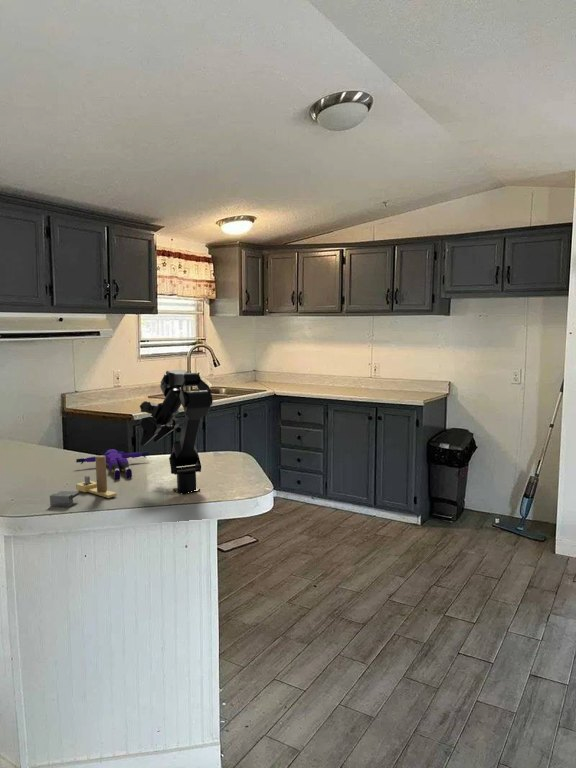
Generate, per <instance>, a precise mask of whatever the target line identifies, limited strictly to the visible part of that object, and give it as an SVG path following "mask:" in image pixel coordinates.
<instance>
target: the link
mask: <svg viewBox="0 0 576 768" xmlns="http://www.w3.org/2000/svg"><path fill="white" fill-rule="evenodd" d="M94 457H95V458H96V461H95V475H96V477H95V478H96V479H95V480H96V481H92V480H90V484H88V485H85V481H83V482H78V483H75V490H76V491H79V492H81V491H83V492H82V493H84V492H86V493H90V494H93V495H96V496H97V495H98V496H101V497H104V498H107V499H110V498H113V497H117V494H118V493H117V492H114V491H110V490H108V485H107V484H108V482H107V481H108V479H107V463H106V456H102V455H97V456H94Z"/></svg>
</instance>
